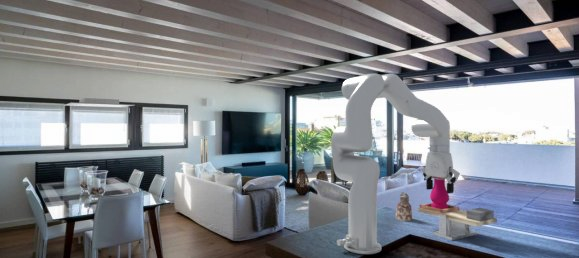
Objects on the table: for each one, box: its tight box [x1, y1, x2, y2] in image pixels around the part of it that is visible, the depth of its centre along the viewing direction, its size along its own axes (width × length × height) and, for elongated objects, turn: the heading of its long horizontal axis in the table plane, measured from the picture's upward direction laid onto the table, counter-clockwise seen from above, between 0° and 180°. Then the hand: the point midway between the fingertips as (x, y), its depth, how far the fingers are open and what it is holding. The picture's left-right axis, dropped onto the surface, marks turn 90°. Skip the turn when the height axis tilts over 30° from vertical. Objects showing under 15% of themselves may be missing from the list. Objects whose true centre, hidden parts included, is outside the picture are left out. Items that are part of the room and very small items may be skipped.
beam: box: [418, 202, 498, 227], centre depth 129 cm, size 12×25×4 cm, turn 28°
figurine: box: [395, 191, 413, 222], centre depth 152 cm, size 7×7×12 cm
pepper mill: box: [429, 177, 450, 209], centre depth 137 cm, size 7×7×20 cm
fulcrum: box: [433, 209, 478, 241], centre depth 129 cm, size 15×8×8 cm, turn 118°
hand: (439, 191), depth 135 cm, fingers open, 9 cm apart
